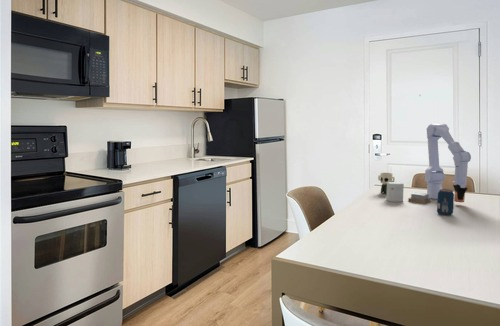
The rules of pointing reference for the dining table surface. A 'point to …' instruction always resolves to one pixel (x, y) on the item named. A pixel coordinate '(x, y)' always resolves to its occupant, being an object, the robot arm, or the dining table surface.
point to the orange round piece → (457, 198)
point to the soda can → (445, 202)
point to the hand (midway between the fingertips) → (459, 198)
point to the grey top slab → (419, 196)
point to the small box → (395, 191)
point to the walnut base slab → (419, 200)
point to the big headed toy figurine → (385, 181)
